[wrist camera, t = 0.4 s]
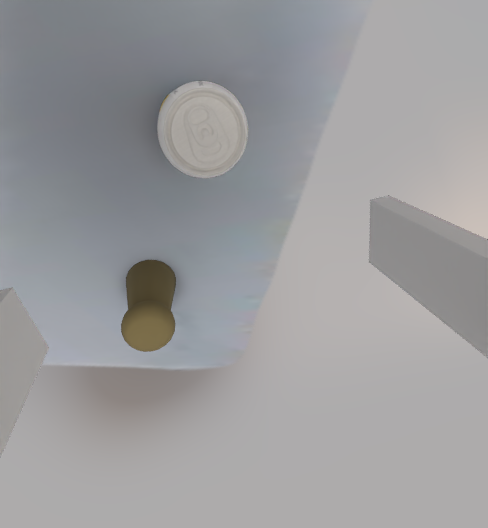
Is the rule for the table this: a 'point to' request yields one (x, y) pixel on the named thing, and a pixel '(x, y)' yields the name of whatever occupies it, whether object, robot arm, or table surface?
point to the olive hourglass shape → (149, 306)
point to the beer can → (202, 129)
